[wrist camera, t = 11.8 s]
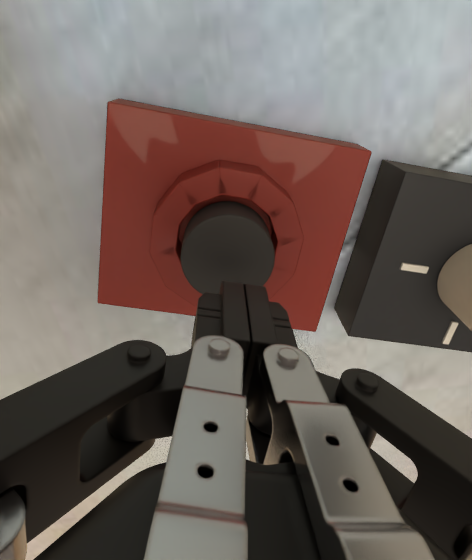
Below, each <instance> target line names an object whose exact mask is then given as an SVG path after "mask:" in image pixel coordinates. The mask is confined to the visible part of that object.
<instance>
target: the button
mask: <svg viewBox="0 0 472 560" xmlns="http://www.w3.org/2000/svg"><path fill="white" fill-rule="evenodd" d="M274 263H275V251H274V246H273V243H272V240H271V237H270V234H269V231H268V228H267V226H266V224H265V222H264V220H263V219H262V218H261V216H260V215H259V214H258V213H257V212H256V211H254V210H253V209H252V208H250V207H248V206H246V205H244V204H241V203H237V202H231V201H222V202H216V203H213V204H210V205H208V206H206V207H204V208H202V209H201V210H199V211H198V212H197V213H196V214H195V215H194V216H193V217H192V218H191V220H190V221H189V223H188V225H187V227H186V229H185V233H184V237H183V243H182V249H181V266H182V270H183V273H184V275H185V277H186V279H187V281H188V282H189V283H190V285H191V286H192V287H193V288H194V289H196V290H197V291H198V292H199V293H201V294H204V293H205V292H207V293H214V294H219V291H220V286H221V282H222V280H223V281H229V282H236V283H243V285H244V284H250V285H257V286H263V285H264V284H265V283H266V282H267V280H268V279H269V277H270V275H271V273H272V271H273V268H274Z"/></svg>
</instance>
